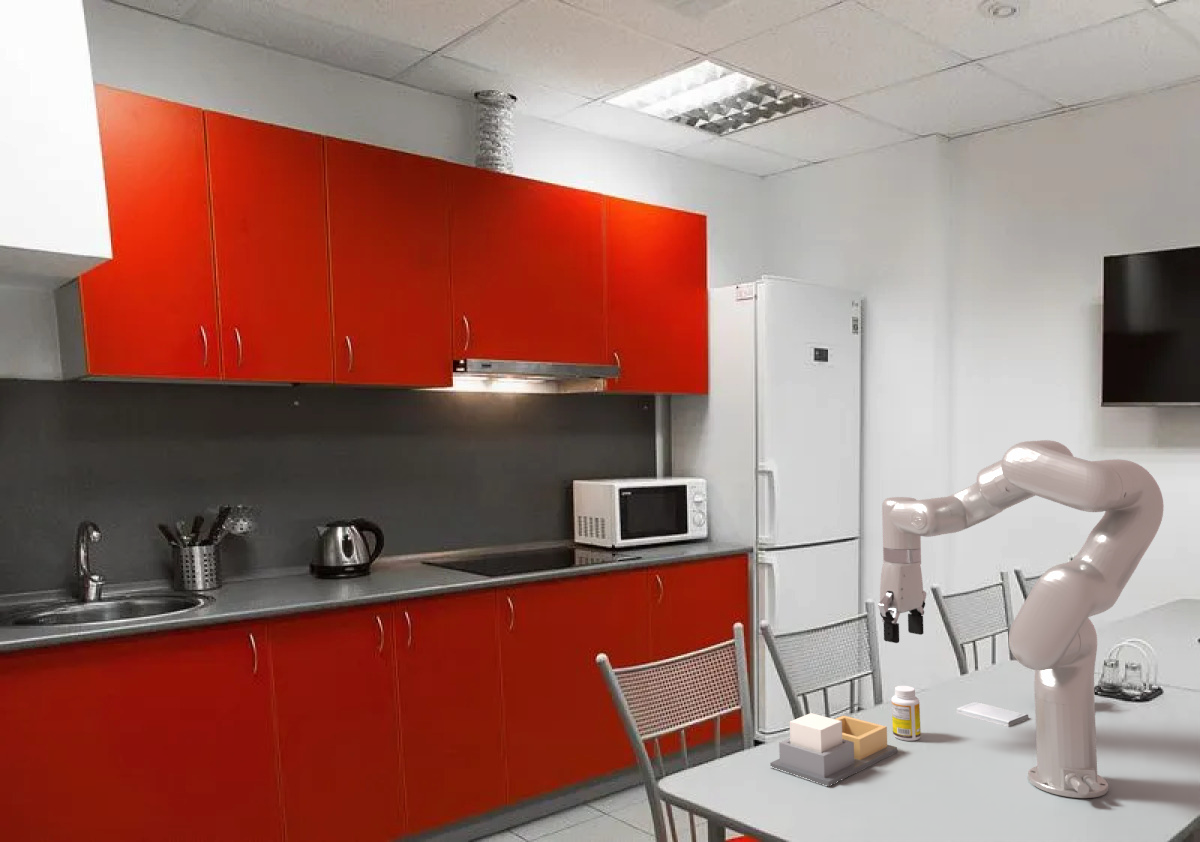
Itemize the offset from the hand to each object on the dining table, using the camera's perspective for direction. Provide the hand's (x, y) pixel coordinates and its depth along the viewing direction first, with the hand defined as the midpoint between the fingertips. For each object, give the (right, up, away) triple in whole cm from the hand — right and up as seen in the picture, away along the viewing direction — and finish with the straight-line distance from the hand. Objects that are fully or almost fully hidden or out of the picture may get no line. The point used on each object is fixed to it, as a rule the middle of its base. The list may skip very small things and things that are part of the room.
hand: (903, 637), depth 181 cm
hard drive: (+24, -21, +11) cm, 34 cm away
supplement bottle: (0, -21, -1) cm, 21 cm away
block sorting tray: (-18, -21, -12) cm, 30 cm away
